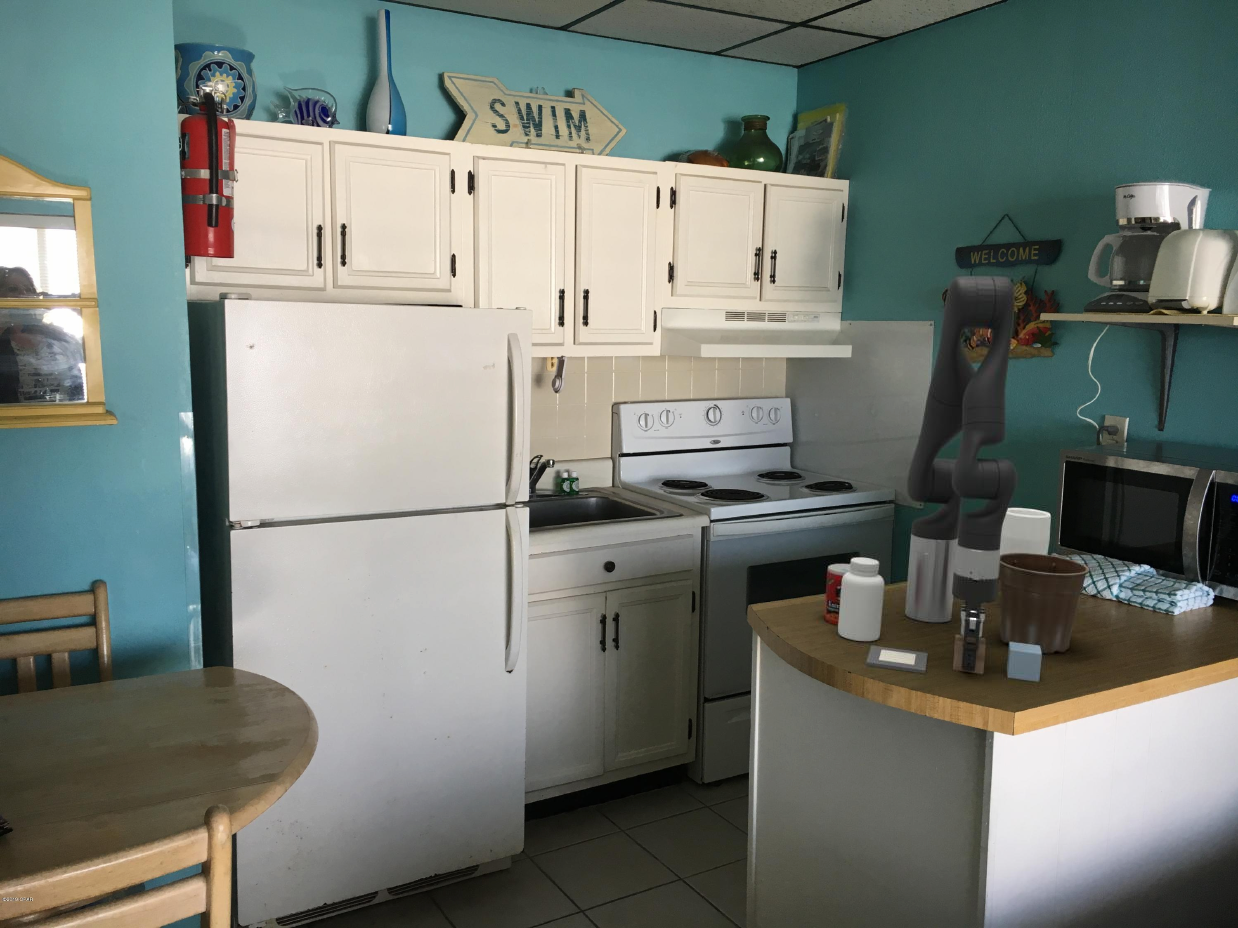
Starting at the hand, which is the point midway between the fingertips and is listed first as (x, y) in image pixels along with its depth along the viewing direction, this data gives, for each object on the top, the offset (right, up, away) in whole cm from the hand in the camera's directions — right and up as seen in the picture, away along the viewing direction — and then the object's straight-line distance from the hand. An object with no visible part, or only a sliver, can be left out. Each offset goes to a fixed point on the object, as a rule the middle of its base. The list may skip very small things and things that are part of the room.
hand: (968, 664), depth 173 cm
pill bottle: (-15, +2, +16) cm, 22 cm away
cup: (+25, +4, +39) cm, 46 cm away
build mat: (-12, 0, +2) cm, 12 cm away
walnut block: (0, -1, 0) cm, 1 cm away
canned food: (-16, +3, +26) cm, 31 cm away
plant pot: (+18, +1, +15) cm, 23 cm away
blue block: (+8, -1, -3) cm, 9 cm away
